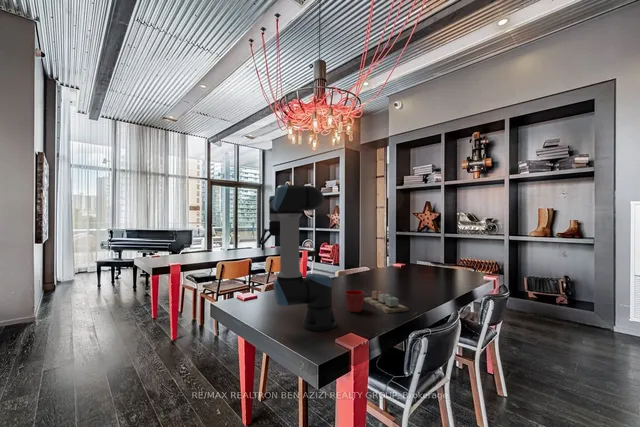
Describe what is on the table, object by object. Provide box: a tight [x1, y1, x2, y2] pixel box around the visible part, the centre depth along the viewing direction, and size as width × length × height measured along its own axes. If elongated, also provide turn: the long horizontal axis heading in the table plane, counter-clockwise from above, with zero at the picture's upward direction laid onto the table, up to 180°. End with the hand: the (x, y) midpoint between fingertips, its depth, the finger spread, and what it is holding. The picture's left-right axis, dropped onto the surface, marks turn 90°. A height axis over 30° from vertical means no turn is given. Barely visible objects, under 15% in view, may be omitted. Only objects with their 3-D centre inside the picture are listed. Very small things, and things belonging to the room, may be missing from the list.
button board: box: [363, 296, 409, 314], centre depth 164 cm, size 27×13×2 cm, turn 17°
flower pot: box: [344, 289, 365, 313], centre depth 155 cm, size 11×11×10 cm
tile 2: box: [385, 296, 399, 306], centre depth 156 cm, size 5×5×4 cm
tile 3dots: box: [371, 290, 384, 299], centre depth 171 cm, size 5×5×4 cm
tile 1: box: [377, 293, 392, 303], centre depth 164 cm, size 5×5×4 cm
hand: (275, 255), depth 176 cm, fingers open, 13 cm apart
